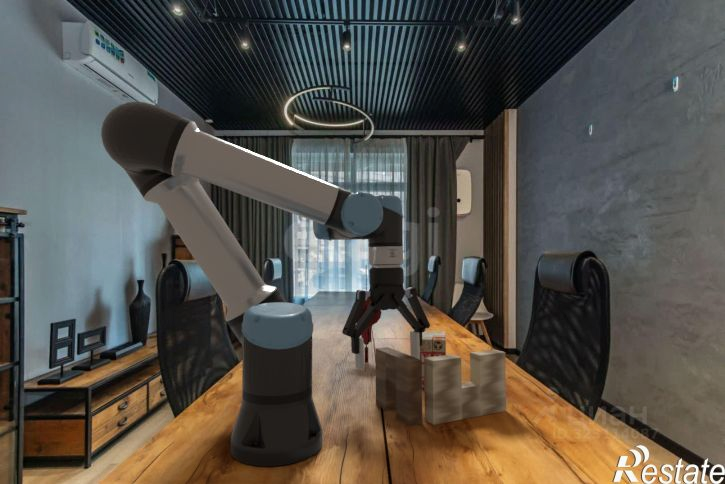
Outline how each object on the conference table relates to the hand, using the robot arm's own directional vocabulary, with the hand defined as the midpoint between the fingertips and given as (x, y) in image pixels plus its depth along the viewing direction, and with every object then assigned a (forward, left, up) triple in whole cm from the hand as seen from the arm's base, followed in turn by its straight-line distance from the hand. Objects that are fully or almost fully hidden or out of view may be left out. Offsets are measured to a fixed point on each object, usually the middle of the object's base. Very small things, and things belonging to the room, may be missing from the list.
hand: (388, 365), depth 92 cm
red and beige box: (+22, +15, -9) cm, 28 cm away
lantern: (+13, +39, -9) cm, 42 cm away
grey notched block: (+12, -12, -9) cm, 19 cm away
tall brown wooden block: (0, -5, -9) cm, 10 cm away
